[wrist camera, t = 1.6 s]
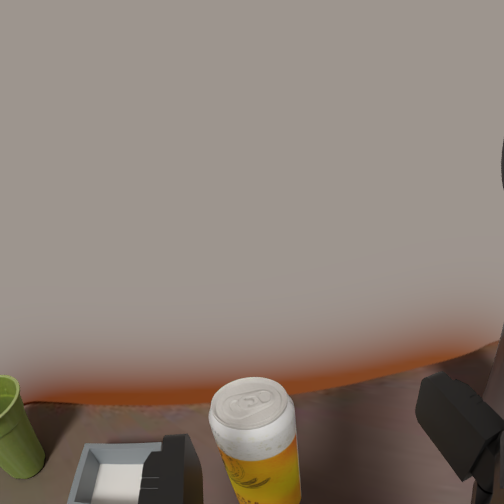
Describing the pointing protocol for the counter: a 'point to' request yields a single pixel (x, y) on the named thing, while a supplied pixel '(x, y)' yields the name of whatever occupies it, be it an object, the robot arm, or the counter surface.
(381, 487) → the counter surface
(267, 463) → the beer can
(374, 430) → the counter surface
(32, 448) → the plant pot
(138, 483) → the dock
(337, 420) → the counter surface
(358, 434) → the counter surface
